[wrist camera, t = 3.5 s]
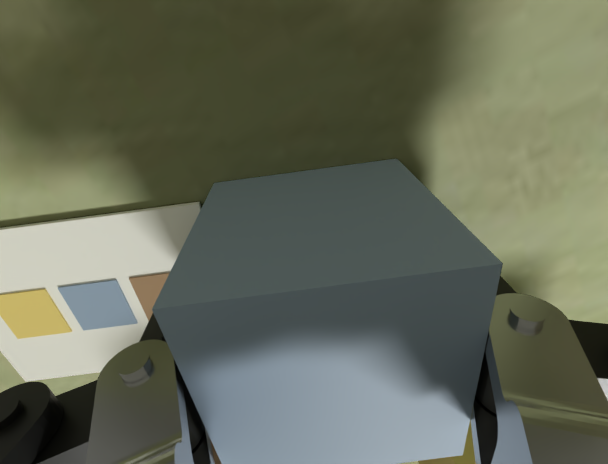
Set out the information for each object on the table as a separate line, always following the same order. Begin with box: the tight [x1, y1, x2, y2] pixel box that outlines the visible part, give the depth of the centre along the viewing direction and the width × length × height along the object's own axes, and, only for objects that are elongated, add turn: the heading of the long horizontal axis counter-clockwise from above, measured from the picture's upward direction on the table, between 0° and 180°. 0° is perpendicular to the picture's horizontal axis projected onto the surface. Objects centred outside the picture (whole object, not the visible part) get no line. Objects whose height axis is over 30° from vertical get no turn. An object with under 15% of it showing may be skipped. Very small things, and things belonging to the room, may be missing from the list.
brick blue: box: [152, 159, 503, 464], centre depth 8 cm, size 5×5×5 cm
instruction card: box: [0, 202, 201, 382], centre depth 11 cm, size 8×6×1 cm
